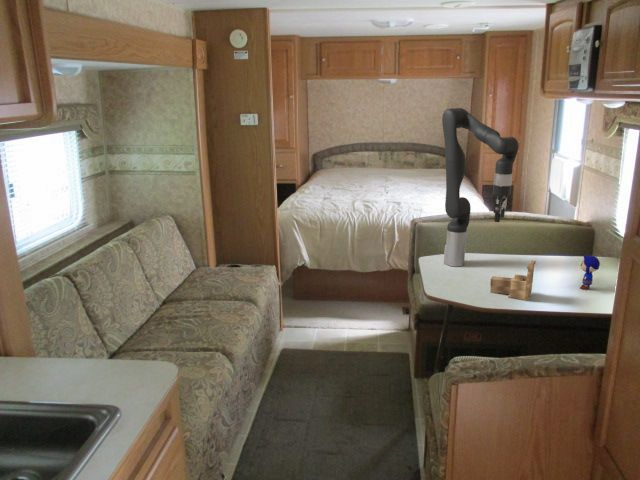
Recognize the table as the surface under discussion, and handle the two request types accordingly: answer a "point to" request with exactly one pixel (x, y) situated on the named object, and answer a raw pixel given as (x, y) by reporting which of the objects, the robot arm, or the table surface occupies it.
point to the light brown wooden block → (502, 284)
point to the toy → (589, 270)
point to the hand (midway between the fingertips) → (499, 219)
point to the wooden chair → (522, 284)
